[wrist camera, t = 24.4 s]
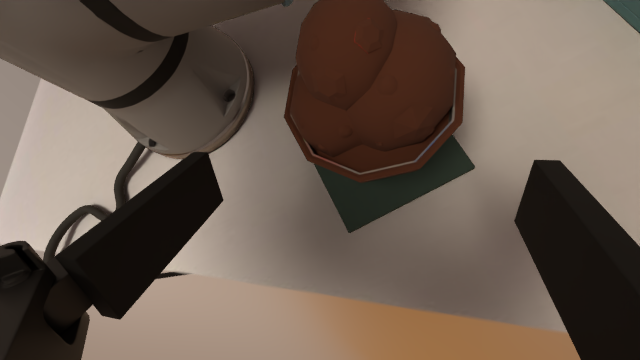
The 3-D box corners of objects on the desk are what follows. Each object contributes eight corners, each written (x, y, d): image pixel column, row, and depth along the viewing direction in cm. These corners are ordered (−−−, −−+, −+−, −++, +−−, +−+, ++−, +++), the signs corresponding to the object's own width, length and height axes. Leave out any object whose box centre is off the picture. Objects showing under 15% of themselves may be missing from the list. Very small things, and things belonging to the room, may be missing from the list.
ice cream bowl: (312, 199, 27) (224, 143, 13) (328, 90, 29) (269, -61, 15) (434, 212, 24) (494, 160, 10) (442, 90, 26) (499, -94, 12)
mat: (349, 233, 26) (348, 232, 26) (296, 127, 30) (294, 124, 29) (473, 169, 25) (475, 167, 24) (401, 66, 29) (401, 62, 28)
